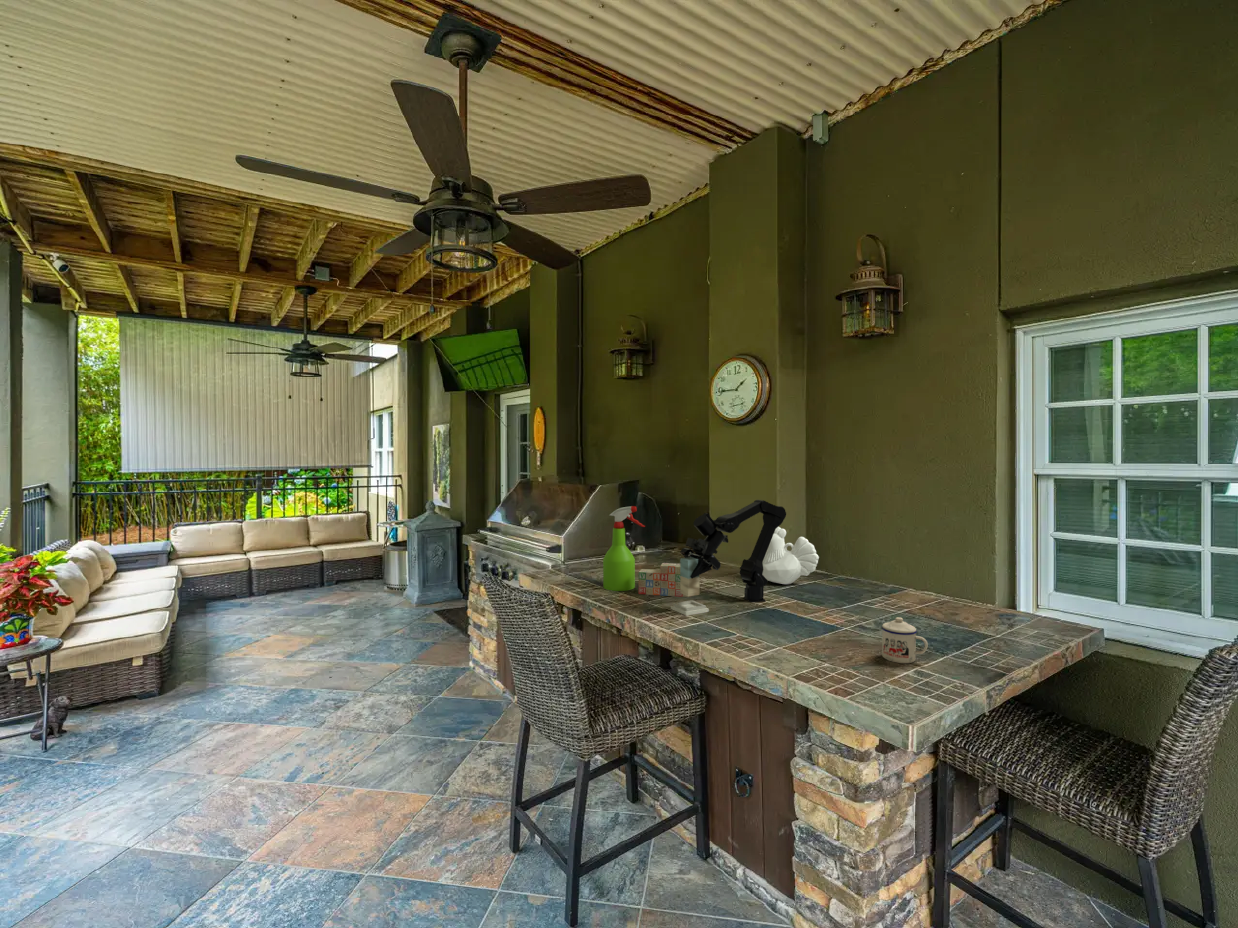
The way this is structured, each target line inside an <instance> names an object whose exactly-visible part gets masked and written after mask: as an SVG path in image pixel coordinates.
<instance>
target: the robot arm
mask: <svg viewBox="0 0 1238 928" xmlns="http://www.w3.org/2000/svg"><path fill="white" fill-rule="evenodd" d="M759 513H760V514H762V522H763V526H762V528H761V530H760V532H759V536H758V537H757V540H756V543H755V545H754V548H753V550H752V552H751V555H750V557H749V558H747V559H743V560H742V563H741V565H740V566H739V575H740V578H741V580H742V583H743V584H745V587H744V595H743V599H745V600H746V601H747V602H750V603H754V602H766V599H765V598H764V597H765V596H764V594H765V593H764V592H765V589H764V587H766V586H767V584H768V580H767V579H766V578H765V577H764V576H763V575H762V574H763V559H764V557H765V554H766V552H767V549H768V547H769V544H770V542H771V539H772V537H773V534H774V532H775V529H776V528H777V527H781V525H782V524H783V523H784V520H785V519H786V516H787V511H786V509H785V507H783V506H780V505H775V504H774V503H773V504H772V503H769V502H768V501H766V500H763V499H756V500H754V501H753V502H751V503H750V504H747V505H745V506H744V507H741V509H739V510H737V511H735V512H732V513H726V514H723V515H720V516H718V517H717V518H716V519H713V518H712V517H711V516H710V514H709V513H707V512H703V514H702V515H700V516H698V517H696V518H695V519H694V521H693V526H694V527H695V528H696V530H698V532H699V533H700V534H701V535H702V536H703V537H705V538H704V539H702V538H698V539H695V538H692V537H687V540H686V543H685V544H684V545H685V547H683V548H682V549H681V550H680V552H679V553H680V554H681V556H683V558H689V557H693V558H696V559H698V564H697V566H696V568H695V569H694V571H693V572H692V574H691V576H690V577H691V578H692V579H693V578H695V577H696V576H698V575H699V576H700V575H703V574H704V573H707V572H708V571H709V572H710V571H712V570H715V571H719V570H720V568H721V562H720V561H719V559H718V558H717V557H716V556H715V554H718V550H717V549H719V547H720V545H721V544H722V543H729V537H728V535H726V534H724V533H727V534H732V533H734V532H735V531H736V530H737V529H738V528H739V527H740V525H741V524H742V523H744V522H746V521H747V520H748V519H750V518H752V517H754V516H756V515H758V514H759Z"/></svg>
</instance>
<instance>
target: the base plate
mask: <svg viewBox="0 0 1238 928" xmlns="http://www.w3.org/2000/svg"><path fill="white" fill-rule="evenodd" d="M709 609H710V608H708V607H707V605H705V604H703V603H700V602H698V601H695V600H693V599H692V600H691V599H690V600H686V601H680V602H679V601H678V602H673V604H672V605H670V610H673V611H675V612H677V613H680V614H681V615H684V616H692V615H697V614H703V613H708V612H709V611H710V610H709Z"/></svg>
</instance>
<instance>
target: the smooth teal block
mask: <svg viewBox="0 0 1238 928" xmlns="http://www.w3.org/2000/svg"><path fill="white" fill-rule="evenodd" d="M679 564H680V593H681V594H683V595H686V596H690V597H694V596H699V595H700V575H698V576H696V577H695V578H693V579H692V578H691V577H690V576H691V574H692V572H693V571H694V569H695V568H696V566H697V564H698V559H696V558H693V557H689V558H685V557H682V558H680V561H679Z"/></svg>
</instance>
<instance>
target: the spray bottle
mask: <svg viewBox="0 0 1238 928" xmlns="http://www.w3.org/2000/svg"><path fill="white" fill-rule="evenodd" d="M636 512H637V506H635V505H631V506H625V507H619V508H618V509H617V508H616V509H615V510H614V511H613V512H611V513H610V514H609V516H611V517H614V523H613V528H612V540H611V541H612V542H611V546H610V547H609V549H608V550H607V552H606V553H605V555H604V557H603V559H602V572H603V573H602V574H603V577H602V579H603V580H602V581H603V582H602V584H603V586H602V587H603V589H605V590H608V591H613V592H625V591H631V590H633V589H635V587H636V579H635V578H636V572H635V571H636V567H635V566H636V559H635V557H634V555H633V553H632V552H631V550H630V549H629V548H628V546H627V545H626V528H625V525H624V522H623V521H624V520H625V519H627V520H629V521H631V522H633V523H634V524H635V525H638V526H639V527H640V528H641V527H642V528H645V527H646V525H645V524H643V523H641V522H640V521H639V520H637V519H635V518H634V516H633V514H632V513H636Z"/></svg>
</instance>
